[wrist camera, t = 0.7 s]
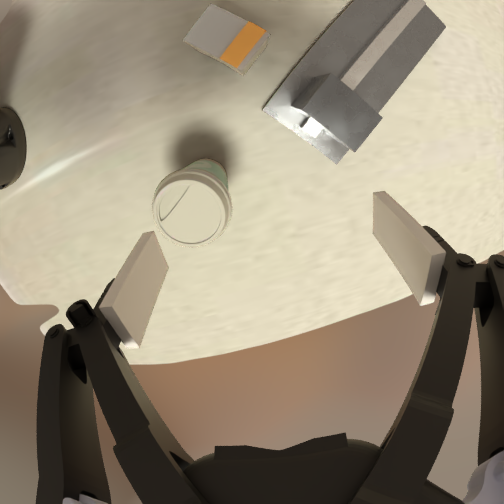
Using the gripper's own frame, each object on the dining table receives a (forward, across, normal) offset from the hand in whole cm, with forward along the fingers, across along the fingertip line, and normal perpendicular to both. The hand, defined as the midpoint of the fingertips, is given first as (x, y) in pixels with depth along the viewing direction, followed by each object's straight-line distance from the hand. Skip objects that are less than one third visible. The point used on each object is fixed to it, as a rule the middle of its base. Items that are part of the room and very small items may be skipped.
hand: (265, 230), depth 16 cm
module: (+23, 0, +14) cm, 27 cm away
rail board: (+23, +16, +12) cm, 30 cm away
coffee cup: (+23, -8, -2) cm, 24 cm away
